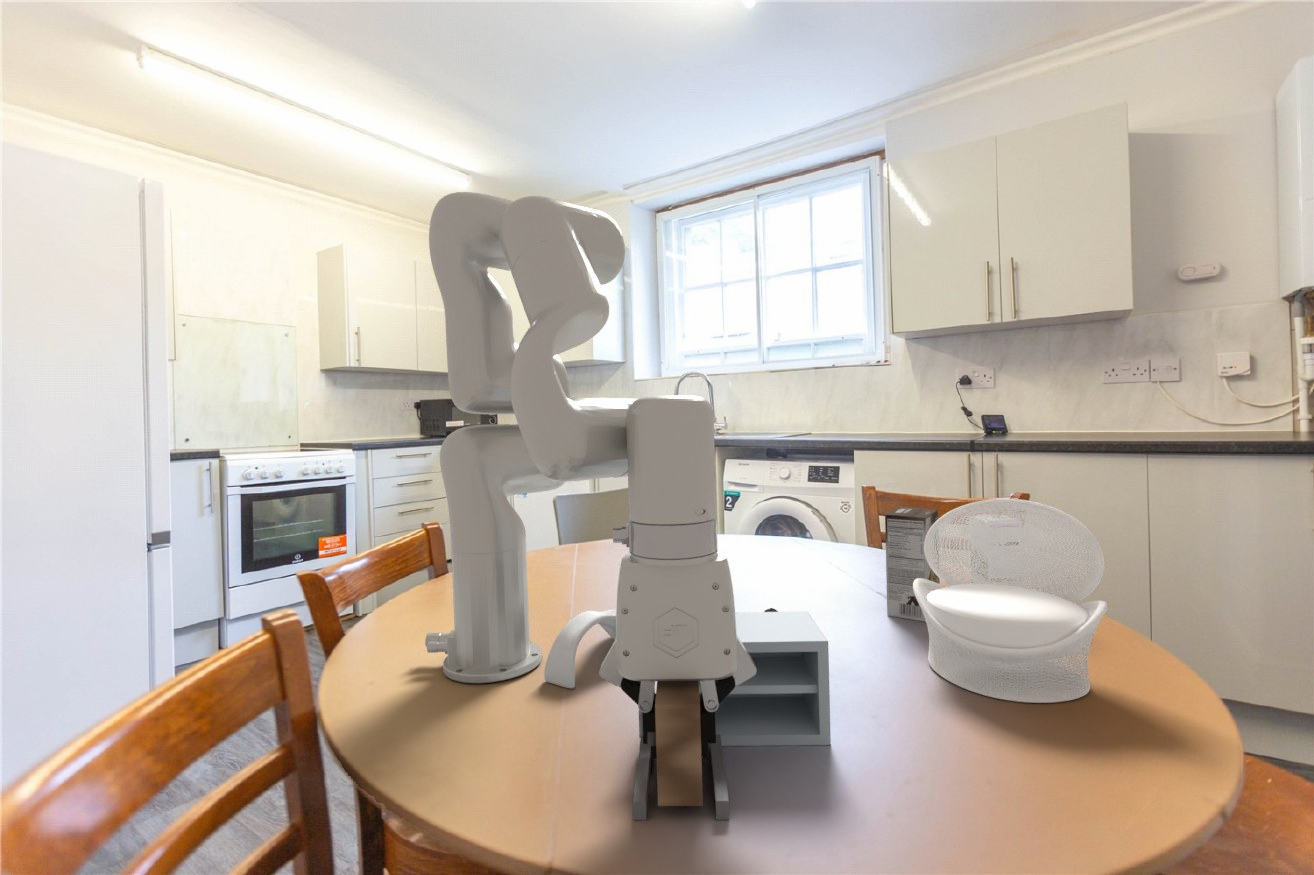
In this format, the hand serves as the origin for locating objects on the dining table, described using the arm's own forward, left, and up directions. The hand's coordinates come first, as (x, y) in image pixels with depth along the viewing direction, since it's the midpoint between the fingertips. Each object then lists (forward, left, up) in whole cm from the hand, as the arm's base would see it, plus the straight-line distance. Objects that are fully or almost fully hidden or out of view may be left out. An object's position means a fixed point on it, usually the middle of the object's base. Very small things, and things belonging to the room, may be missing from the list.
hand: (679, 748), depth 52 cm
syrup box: (+51, +47, -3) cm, 70 cm away
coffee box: (+37, +45, -3) cm, 59 cm away
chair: (+39, +22, -3) cm, 45 cm away
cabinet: (+5, +5, -3) cm, 8 cm away
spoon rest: (-9, +29, -3) cm, 31 cm away
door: (0, 0, -2) cm, 2 cm away
